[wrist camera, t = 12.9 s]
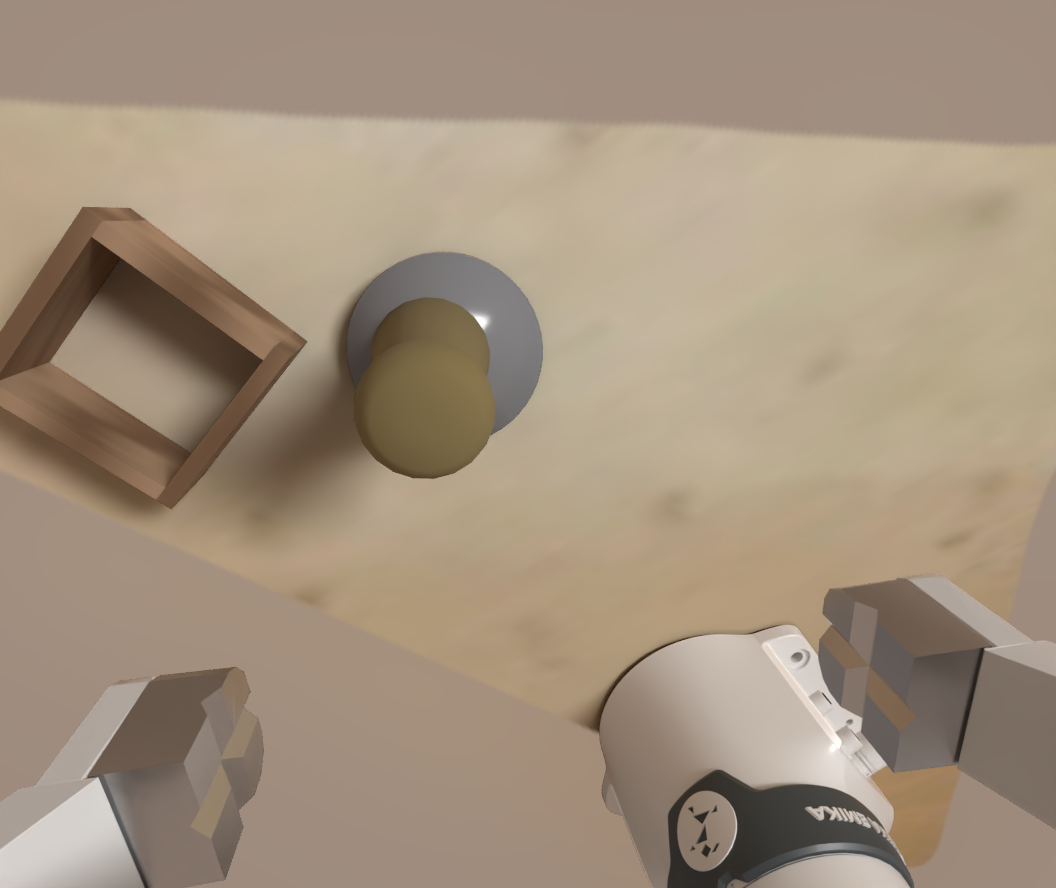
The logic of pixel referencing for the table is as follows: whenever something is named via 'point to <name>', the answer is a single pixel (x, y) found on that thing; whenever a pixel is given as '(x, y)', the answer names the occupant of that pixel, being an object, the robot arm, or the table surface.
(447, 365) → the cork
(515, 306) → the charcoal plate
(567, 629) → the table surface
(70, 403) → the walnut holder
